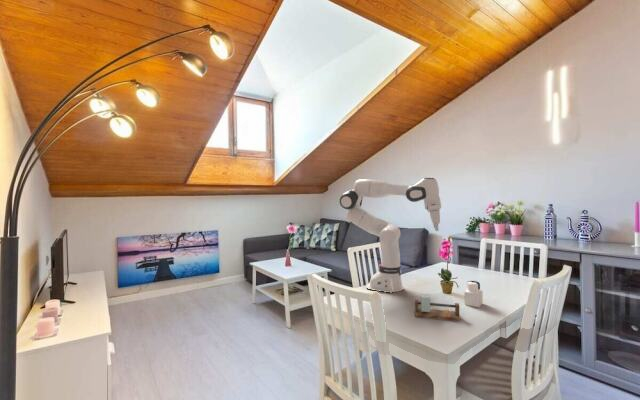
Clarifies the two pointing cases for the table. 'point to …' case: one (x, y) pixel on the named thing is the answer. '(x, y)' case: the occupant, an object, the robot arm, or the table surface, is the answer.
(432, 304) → the rail
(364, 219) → the robot arm
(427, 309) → the marker sleeve
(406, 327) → the table surface
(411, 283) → the table surface
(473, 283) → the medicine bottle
